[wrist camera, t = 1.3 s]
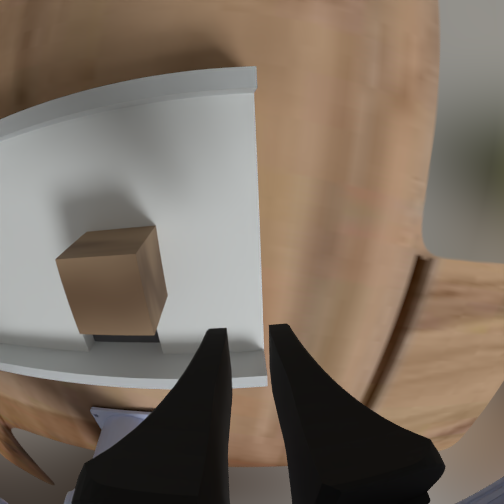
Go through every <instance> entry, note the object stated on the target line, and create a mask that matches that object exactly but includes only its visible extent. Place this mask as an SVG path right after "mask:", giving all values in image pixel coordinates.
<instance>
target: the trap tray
mask: <svg viewBox="0 0 504 504" xmlns="http://www.w3.org/2000/svg"><path fill="white" fill-rule="evenodd" d="M256 89H257V72H256V66H249V67H229V68H214V69H203V70H193V71H185V72H177V73H169V74H162V75H156V76H150V77H144V78H139V79H133V80H128V81H123V82H118V83H114V84H109V85H105V86H101V87H97V88H93V89H89V90H85V91H81V92H78V93H74V94H71V95H67V96H64V97H61V98H57V99H54V100H51V101H48V102H45V103H42V104H39V105H36V106H33V107H31V108H28V109H25V110H22V111H20V112H17V113H15V114H12V115H10V116H7V117H5V118H2V119H0V370H1V371H6V372H11V373H16V374H21V375H26V376H32V377H38V378H44V379H50V380H57V381H64V382H72V383H81V384H90V385H100V386H112V387H126V388H146V389H172V388H173V387H174V386H175V384H176V383H177V381H178V380H179V378H180V377H181V376H182V374H183V373H184V371H185V370H186V368H187V367H188V365H189V363H190V362H191V360H192V358H193V357H194V355H195V353H196V351H197V350H198V348H199V346H200V344H201V342H202V340H203V338H204V336H205V333H206V331H207V330H208V329H210V328H227V335H228V344H229V352H230V361H231V369H232V388H247V387H262V386H267V371H266V363H265V355H264V337H263V306H262V277H261V249H260V223H259V198H258V173H257V150H256V127H255V106H254V92H255V91H256ZM144 226H156V229H157V236H158V242H159V249H160V255H161V261H162V266H163V272H164V277H165V283H166V288H167V293H168V297H167V300H166V303H165V305H164V308H163V311H162V314H161V317H160V320H159V323H158V326H157V329H156V332H155V335H90V334H80V333H79V330H78V328H77V325H76V323H75V320H74V317H73V314H72V312H71V309H70V306H69V303H68V300H67V297H66V294H65V291H64V288H63V285H62V282H61V278H60V275H59V272H58V268H57V265H56V261H55V259H56V258H57V257H58V256H59V255H60V254H62V253H63V252H64V251H65V250H66V249H67V248H68V247H69V246H71V245H72V244H73V243H74V242H75V241H76V240H78V239H79V238H80V237H81V236H82V235H83V234H85V233H86V232H90V231H100V230H110V229H121V228H132V227H144Z"/></svg>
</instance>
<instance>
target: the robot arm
mask: <svg viewBox="0 0 504 504" xmlns="http://www.w3.org/2000/svg"><path fill="white" fill-rule="evenodd" d="M269 355H270V375H271V384H272V392H273V396H274V401H275V405H276V409H277V413H278V418H279V422H280V426H281V430H282V434H283V438H284V443H285V448H286V454H287V462H288V469H289V478H290V487H291V495H292V504H428V503H429V502H430V498H429V495H428V493H427V491H428V490H429V489H430V488H431V487H432V486H433V485H434V484H435V483H436V482H437V481H438V480H439V478H440V477H441V476H442V474H443V472H444V470H445V465H444V462H443V460H442V458H441V456H440V454H439V452H438V450H437V449H436V447H435V446H434V445H433V443H432V441H431V440H430V439H428V438H426V437H423V436H421V435H418V434H416V433H413V432H411V431H409V430H406V429H404V428H402V427H400V426H398V425H396V424H394V423H392V422H390V421H388V420H387V419H385V418H383V417H382V416H380V415H378V414H377V413H375V412H374V411H372V410H371V409H369V408H368V407H366V406H364V405H363V404H362V403H360V402H359V401H358V400H356V399H355V398H354V397H352V396H351V395H350V394H349V393H348V392H346V391H345V390H344V389H343V388H342V387H341V386H339V385H338V384H337V383H336V382H335V381H334V380H333V379H332V378H331V377H330V376H329V375H328V374H327V373H326V372H325V371H324V370H323V369H322V368H321V367H320V366H319V365H318V363H317V362H316V361H315V360H314V359H313V358H312V356H311V355H310V354H309V353H308V352H307V350H306V349H305V348H304V346H303V345H302V344H301V342H300V341H299V340H298V338H297V337H296V335H295V334H294V332H293V331H292V329H291V328H290V326H289V325H288V324H276V325H269ZM231 405H232V369H231V361H230V352H229V344H228V335H227V328H210V329H208V330H207V331H206V333H205V336H204V338H203V340H202V342H201V344H200V346H199V348H198V350H197V351H196V353H195V355H194V357H193V358H192V360H191V362H190V363H189V365H188V367H187V368H186V370H185V371H184V373H183V374H182V376H181V377H180V378H179V380H178V381H177V383H176V384H175V386H174V387H173V388H172V390H171V391H170V392H169V393H168V395H167V396H166V397H165V398H164V399H163V400H162V402H161V403H160V404H159V405H158V406H157V407H156V408H155V409H154V410H153V411H152V412H143V411H129V410H118V409H108V408H99V407H91V409H90V412H91V414H92V415H93V417H94V418H95V420H96V422H97V423H98V425H99V427H100V428H101V433H100V437H99V440H98V443H97V446H96V449H95V453H94V457H93V459H91V460H90V461H88V462H86V463H85V464H84V466H83V468H82V470H81V472H80V475H79V477H78V481H77V484H76V487H75V489H74V490H73V491H70V492H68V493H67V495H66V498H65V502H64V504H230V500H229V477H228V441H229V429H230V417H231ZM0 504H8V503H7V502H5V501H4V500H3V499H1V498H0ZM456 504H504V477H502V478H500V479H499V480H497V481H496V482H494V483H492V484H491V485H489V486H487V487H486V488H484V489H482V490H480V491H479V492H477V493H475V494H473V495H471V496H469V497H468V498H466V499H464V500H462V501H460V502H458V503H456Z"/></svg>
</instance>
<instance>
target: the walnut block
mask: <svg viewBox="0 0 504 504" xmlns="http://www.w3.org/2000/svg"><path fill="white" fill-rule="evenodd" d="M55 261H56V265H57V268H58V272H59V275H60V278H61V282H62V285H63V288H64V291H65V294H66V297H67V300H68V303H69V306H70V309H71V312H72V314H73V317H74V320H75V323H76V325H77V328H78V330H79V333H80V334H90V335H155V332H156V329H157V326H158V323H159V320H160V317H161V314H162V311H163V308H164V305H165V303H166V300H167V297H168V293H167V288H166V283H165V277H164V272H163V266H162V261H161V255H160V249H159V242H158V236H157V229H156V226H144V227H132V228H121V229H110V230H100V231H90V232H86V233H85V234H83V235H82V236H81V237H80V238H79V239H78V240H76V241H75V242H74V243H73V244H72V245H71V246H69V247H68V248H67V249H66V250H65V251H64V252H63V253H62V254H60V255H59V256H58V257H57V258H56V259H55Z"/></svg>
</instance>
